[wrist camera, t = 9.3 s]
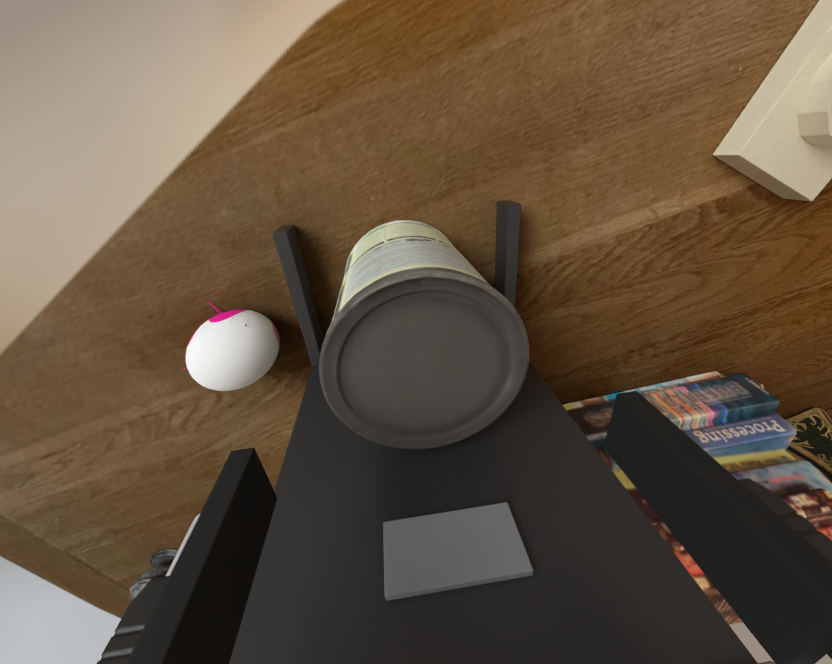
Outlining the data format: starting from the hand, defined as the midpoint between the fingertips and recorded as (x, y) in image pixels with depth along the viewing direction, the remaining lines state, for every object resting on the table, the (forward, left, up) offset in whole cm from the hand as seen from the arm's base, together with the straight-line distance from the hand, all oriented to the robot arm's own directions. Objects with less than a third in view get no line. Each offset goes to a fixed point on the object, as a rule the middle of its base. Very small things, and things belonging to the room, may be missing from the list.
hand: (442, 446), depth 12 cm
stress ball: (+9, -12, -19) cm, 24 cm away
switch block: (-24, +24, -19) cm, 39 cm away
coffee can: (0, 0, -19) cm, 19 cm away
